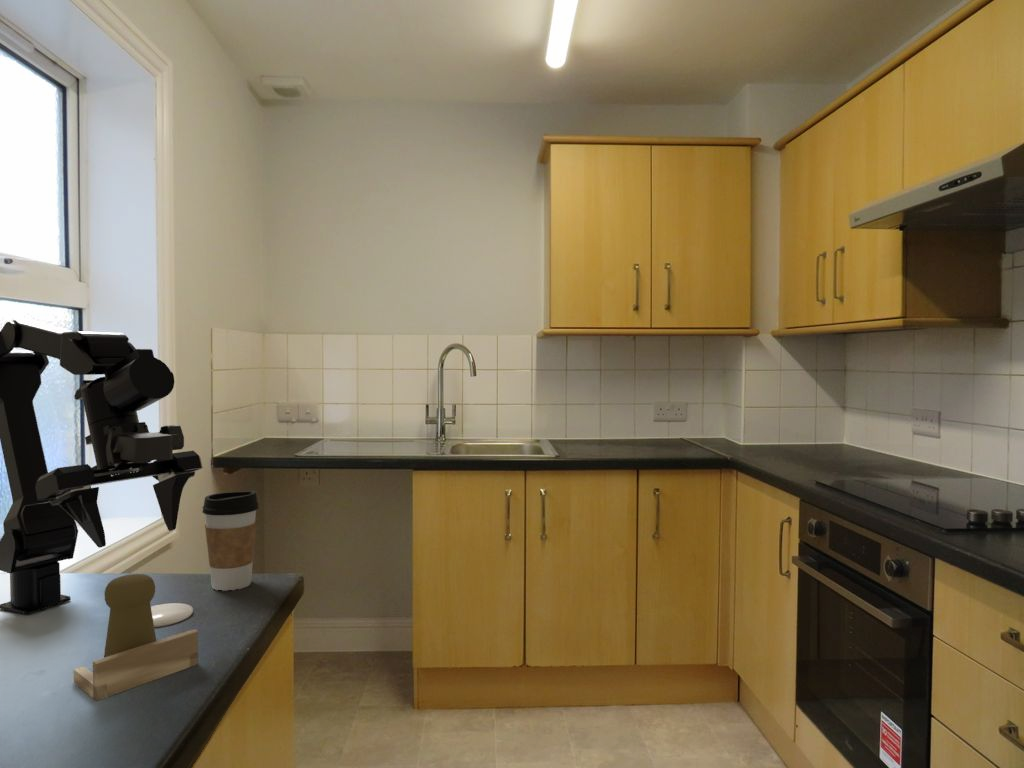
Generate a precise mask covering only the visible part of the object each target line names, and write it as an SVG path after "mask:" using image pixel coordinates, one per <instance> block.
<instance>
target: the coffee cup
mask: <svg viewBox="0 0 1024 768" xmlns="http://www.w3.org/2000/svg"><path fill="white" fill-rule="evenodd" d="M258 509H259V502H258V497H257V491H254V490H250V491H249V490H248V491H247V490H246V491H243V490H242V491H228V492H227V491H226V492H225V491H224V492H219V493H212V494H208V495H206V496H205V497H204V500H203V506H202V514H204V517H205V524H204V529H205V538H206V547H207V548H206V549H207V555H208V563H209V572H210V581H211V588H212V589H213V590H214V589H215V591H218V590H222V591H221V592H228V590H232V591H236V589H238V590H240V589H244V588H247V587H248V586H250V585H251V584H252V576H253V575H252V573H253V561H254V554H255V553H254V552H255V543H256V533H257V530H256V529H257V520H256V518H257V517H256V515H257V514H256V513H257V510H258Z"/></svg>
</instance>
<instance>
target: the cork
mask: <svg viewBox="0 0 1024 768" xmlns="http://www.w3.org/2000/svg"><path fill="white" fill-rule="evenodd" d="M154 581H155V580H154V579H153V578H152V576H150V575H148V574H143V573H132V574H125V575H122V576H118V577H115V578H112V580H110V581H108V583H107V585H106V586H105V590H104V601H105V604H106V606H108V607H109V617H108V624H107V632H106V639H105V647H104V653H103V658H105V657H108V656H111V655H114V654H117V653H121V652H124V651H127V650H130V649H133V648H136V647H139V646H142V645H146V644H149V643H152V642H155V641H157V636H156V630H155V627H154V623H153V617H152V611H151V602H152V599H153V598H154V597H155V593H156V585H155V584H156V583H155V582H154Z"/></svg>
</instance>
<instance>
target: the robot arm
mask: <svg viewBox="0 0 1024 768" xmlns="http://www.w3.org/2000/svg"><path fill="white" fill-rule="evenodd" d="M129 340H130V339H129V337H128V336H127V335H126V334H125V333H123V332H106V331H104V332H103V331H102V332H101V331H84V330H83V331H82V330H81V331H80V330H75V331H74V330H70V329H67V328H62V327H58V326H54V325H50V324H49V323H45V322H44V321H39V320H37V321H36V320H21V319H19V320H17V319H16V320H11V321H6V322H5V323H4V325H3V327H2V328H1V330H0V446H1V450H2V455H3V460H4V464H5V465H4V466H5V470H6V474H7V479H8V485H9V488H10V494H11V498H12V504H11V506H10V508H9V510H8V511H7V514H6V516H5V519H4V520H3V523H2V524H3V525H2V526H3V535H2V537H1V538H0V571H1V572H4V573H7V574H9V581H10V582H9V584H10V585H9V589H10V590H9V592H10V600H9V601H7V602H4V603H1V604H0V610H4V611H9V612H14V613H17V614H18V613H19V614H22V615H23V614H24V615H28V614H32V613H35V612H38V611H42V610H44V609H47V608H48V609H49V608H50V607H54V606H57V605H60V604H62V603H65V602H68V601H70V600H71V596H70V595H66V594H61V593H62V592H61V591H62V590H61V587H62V586H61V583H62V582H61V574H60V571H61V570H60V569H61V568H60V562H61V561H64V560H71V559H73V558H74V555H75V550H76V545H77V541H78V534H79V529H78V526H79V527H80V528H81V529H82V530H83V531H84V533H85V534H86V535H87V536H88V537H89V538H90V540H91V541H92V542H93V543H94V544H95V545H96V547H98V548H99V549H100V548H103V547H105V546H106V544H107V543H106V533H105V529H104V526H103V521H102V518H101V514H100V510H99V506H98V497H99V490H100V487H99V485H105V484H109V483H110V484H111V483H117V482H123V481H130V480H136V479H142V478H147V477H148V478H149V477H152V478H153V479H155V480H156V481H158V482H157V483H154V484H153V485H152V487H153V490H154V493H155V497H156V501H157V503H158V506H159V509H160V512H161V515H162V518H163V520H164V524H165V526H166V528H167V531H169V532H171V531H175V530H176V528H177V524H178V516H179V511H180V510H179V509H180V505H181V504H180V503H181V498H182V494H183V490H184V487H185V485H186V484H187V482H188V480H189V479H191V478H193V477H195V475H196V472H197V471H200V470H201V469H203V468H204V467H203V463H202V459H201V456H200V455H199V454H198V453H197V452H196V451H194V450H186V451H180V452H174V451H177V450H178V451H179V450H182V449H184V446H185V436H184V433H183V430H182V427H181V425H177V424H170V425H168V424H167V425H162V426H161V427H160V430H159V432H150V431H149V428H148V425H147V423H146V422H145V421H143V422H142V421H141V422H140V421H139V416H138V412H139V411H141V410H143V409H145V408H147V407H149V406H150V405H153V404H154V403H156V402H158V401H160V400H162V399H164V398H166V397H168V396H169V395H170V394H171V392H172V391H173V389H174V387H175V376H174V372H172V371H171V369H170V368H169V367H168V365H167V364H166V363H165V362H164V361H162V360H160V359H158V358H157V357H155V354H154V350H153V349H151V348H136V347H135V346H134V345H133V344H132V343H131V342H130V341H129ZM14 348H15V349H14ZM48 357H50V358H53V359H58V360H59V366H60V367H61V368H62V369H64V370H66V371H67V372H69V373H71V374H72V375H73V376H74V375H75V376H78V375H79V376H84V375H86V376H87V375H91V376H92V375H93V376H94V375H104V376H100V377H97V378H95V379H83V380H82V382H81V384H80V387H79V388H78V389H77V390H76V391H75V394H74V400H75V401H79V400H82V402H83V409H84V411H85V415H86V420H87V425H88V431H89V435H87V436H85V437H84V440H85V444H86V446H88V445H91V446H92V450H93V453H94V460H95V463H96V465H94V466H92V467H91V465H89V464H88V463H85V464H77V465H69V466H62V467H61V466H60V467H56V468H55V469H53V470H51V471H49V470H48V467H47V466H48V465H47V461H46V456H45V452H44V448H43V444H42V438H41V434H40V429H39V425H38V421H37V420H38V419H37V415H36V412H35V407H34V399H35V398H36V395H37V393H38V391H39V389H40V388H41V385H42V374H43V373H44V371H45V370H46V368H47V367H48V365H49V364H50V361H49V358H48ZM48 471H49V472H48ZM96 485H98V486H96ZM92 486H96V487H92ZM77 524H78V525H77Z"/></svg>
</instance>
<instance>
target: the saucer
mask: <svg viewBox="0 0 1024 768" xmlns="http://www.w3.org/2000/svg"><path fill="white" fill-rule="evenodd" d="M151 611H152V617H153V623H154V628H160V627H165V626H169V625H174V624H177V623H180V622H182V621H185V620H187V619H188V618H190V617H191V616H192V615H193V613H194V608H193V607H192V605H190V604H187V603H179V602H177V603H176V602H175V603H174V602H173V603H172V602H171V603H162V604H156V605H152V606H151Z"/></svg>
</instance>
